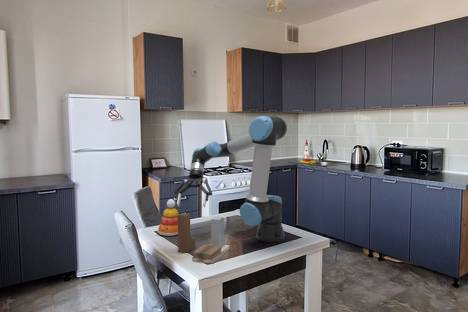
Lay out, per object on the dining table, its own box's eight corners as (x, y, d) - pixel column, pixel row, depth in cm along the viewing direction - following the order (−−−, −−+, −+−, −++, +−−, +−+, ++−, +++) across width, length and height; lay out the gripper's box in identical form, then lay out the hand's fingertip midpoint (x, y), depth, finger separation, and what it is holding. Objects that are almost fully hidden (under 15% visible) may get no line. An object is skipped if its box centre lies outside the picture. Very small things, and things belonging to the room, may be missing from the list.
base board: (229, 248, 172) (229, 240, 171) (213, 263, 152) (213, 254, 152) (210, 246, 175) (210, 238, 175) (192, 260, 155) (192, 252, 155)
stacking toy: (152, 234, 195) (151, 199, 194) (171, 228, 207) (170, 195, 205) (169, 238, 187) (169, 202, 185) (188, 232, 198) (188, 198, 197)
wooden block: (187, 246, 175) (187, 210, 174) (195, 247, 173) (195, 211, 172) (177, 251, 167) (177, 214, 165) (185, 253, 165) (185, 215, 164)
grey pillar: (223, 245, 172) (223, 216, 171) (219, 248, 166) (218, 219, 165) (216, 244, 173) (215, 216, 172) (211, 248, 168) (211, 219, 167)
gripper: (219, 177, 195) (215, 210, 182) (175, 176, 197) (168, 208, 184) (218, 168, 190) (214, 202, 176) (173, 168, 192) (165, 200, 178)
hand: (191, 205), depth 180 cm, fingers open, 13 cm apart
